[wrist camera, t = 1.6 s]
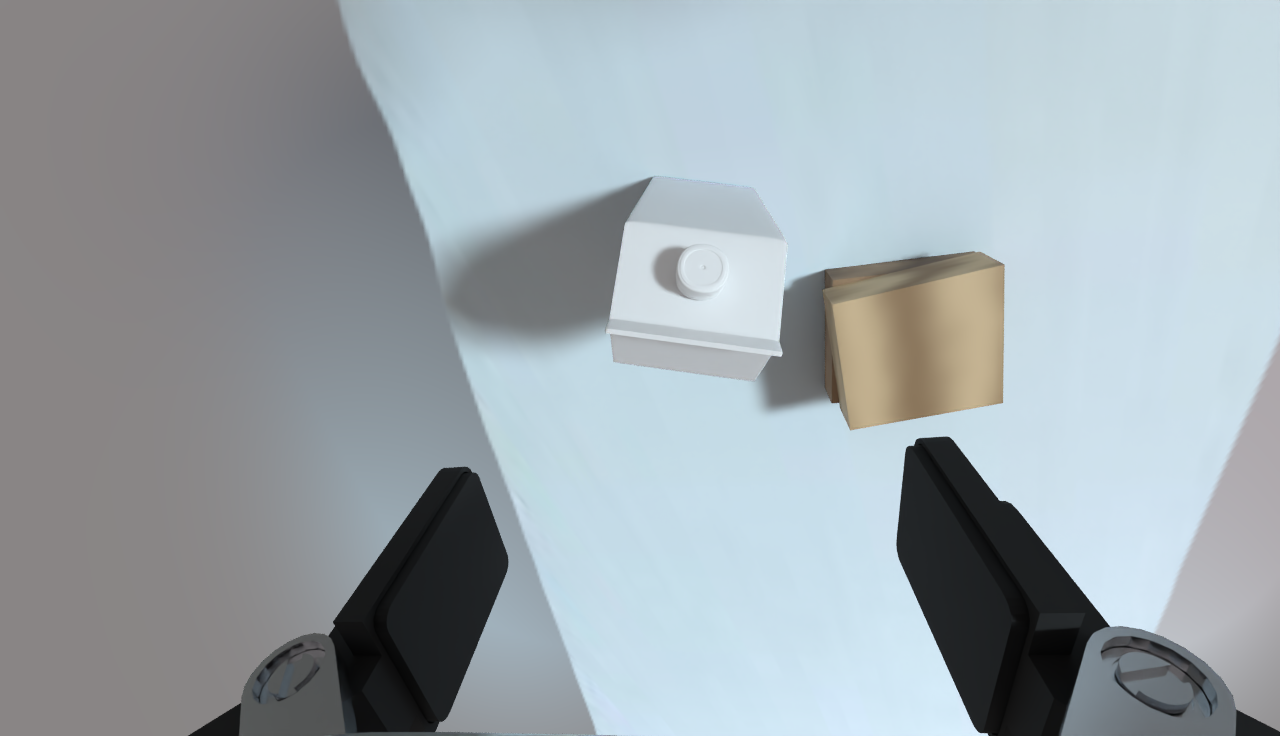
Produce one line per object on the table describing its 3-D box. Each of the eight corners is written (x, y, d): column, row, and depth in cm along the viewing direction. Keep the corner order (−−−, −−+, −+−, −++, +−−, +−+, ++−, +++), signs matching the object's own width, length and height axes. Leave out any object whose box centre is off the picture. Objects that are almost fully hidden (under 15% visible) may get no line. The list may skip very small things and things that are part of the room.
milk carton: (735, 285, 38) (763, 428, 22) (643, 273, 39) (599, 405, 22) (755, 187, 35) (805, 267, 18) (653, 175, 35) (611, 242, 19)
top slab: (980, 251, 33) (1004, 264, 31) (981, 381, 37) (1002, 402, 35) (822, 289, 35) (832, 304, 33) (840, 408, 40) (850, 430, 37)
